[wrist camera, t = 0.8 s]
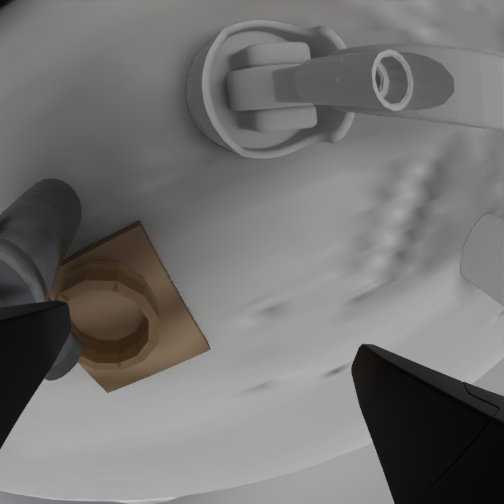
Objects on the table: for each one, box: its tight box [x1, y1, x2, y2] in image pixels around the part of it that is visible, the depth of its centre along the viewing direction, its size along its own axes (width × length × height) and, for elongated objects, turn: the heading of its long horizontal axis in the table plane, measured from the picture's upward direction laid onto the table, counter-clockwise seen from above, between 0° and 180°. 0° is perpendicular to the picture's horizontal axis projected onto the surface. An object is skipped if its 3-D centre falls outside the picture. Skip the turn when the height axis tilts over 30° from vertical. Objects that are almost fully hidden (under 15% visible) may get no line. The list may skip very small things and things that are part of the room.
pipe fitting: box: [0, 179, 84, 381], centre depth 16 cm, size 8×5×13 cm
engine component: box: [186, 20, 504, 159], centre depth 13 cm, size 11×20×10 cm
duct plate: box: [49, 221, 210, 393], centre depth 24 cm, size 14×12×4 cm
